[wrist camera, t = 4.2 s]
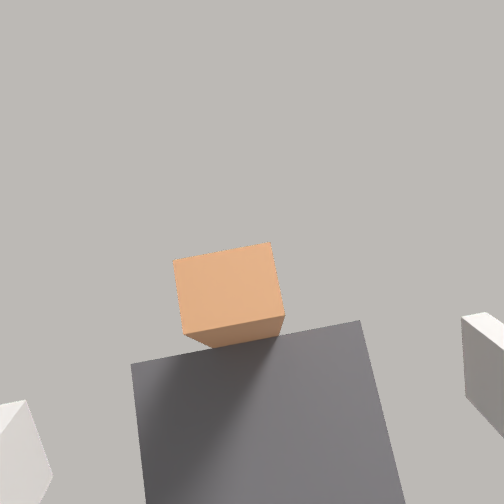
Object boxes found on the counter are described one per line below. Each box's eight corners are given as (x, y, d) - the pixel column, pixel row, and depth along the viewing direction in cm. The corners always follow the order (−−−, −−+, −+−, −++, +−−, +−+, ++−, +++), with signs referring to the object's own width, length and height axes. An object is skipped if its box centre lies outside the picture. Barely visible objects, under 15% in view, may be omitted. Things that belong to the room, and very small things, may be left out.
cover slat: (285, 314, 17) (270, 242, 18) (183, 334, 17) (172, 260, 18) (273, 350, 44) (268, 320, 45) (234, 358, 44) (228, 327, 45)
